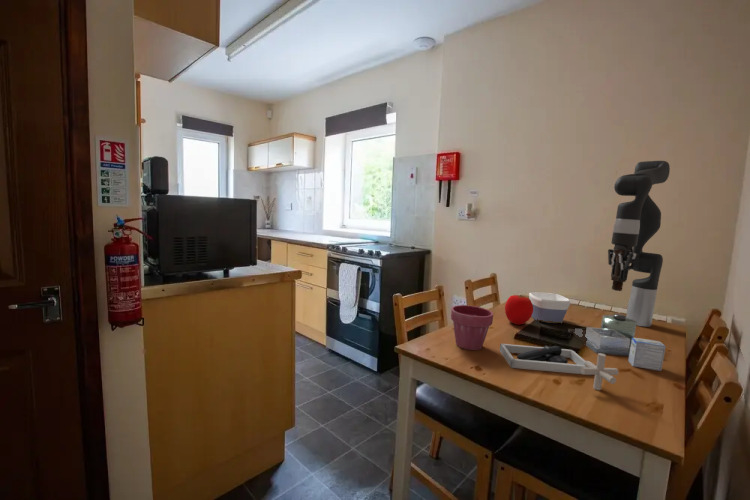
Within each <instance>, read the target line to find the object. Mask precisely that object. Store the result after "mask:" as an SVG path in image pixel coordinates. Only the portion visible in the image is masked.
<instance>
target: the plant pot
mask: <svg viewBox="0 0 750 500" xmlns="http://www.w3.org/2000/svg"><path fill="white" fill-rule="evenodd" d="M450 319H451V320H452V323H453V332H454V333H453V334H454V339H455V344H456V346H458V347H460V348H462V349H465V350H468V351H469V350H470V351H479V350H481V349H482V348H483V346H484V343H485V340H486V337H487V334H488V332H489V328H490V326H492V325H493V322H494V321H493V320H494V313H493V311H491V310H490V309H487V308H484V307H481V306H480V307H479V306H476V305H475V306H474V305H470V304H469V305H467V304H460V305H459V304H458V305H454V306H452V307H451V312H450Z"/></svg>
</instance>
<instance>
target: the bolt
mask: <svg viewBox="0 0 750 500" xmlns="http://www.w3.org/2000/svg"><path fill="white" fill-rule="evenodd" d="M620 252H621V254H624V250H620V249H615V250H614V253H616V254H617V255H616V265H615V273H614V275H612V277H611V276H610V280H611V281H612V284H611V285H612V286H611V290H612V291H615V292H616V291H619V292H622V291H623V286H624V283H625V282H626V281H627V280H626V281H623V280H619V276H620V270H621V264H620V263H619V255H618V254H620ZM624 266H625V264H624Z"/></svg>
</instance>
